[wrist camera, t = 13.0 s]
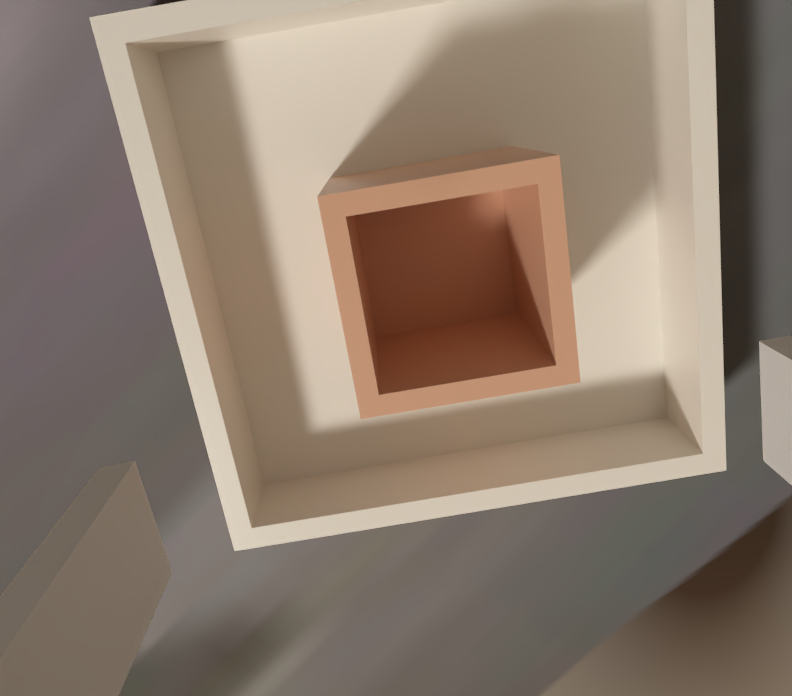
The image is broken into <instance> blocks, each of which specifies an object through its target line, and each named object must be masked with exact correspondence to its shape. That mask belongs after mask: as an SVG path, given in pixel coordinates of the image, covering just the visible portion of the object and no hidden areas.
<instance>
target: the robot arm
mask: <svg viewBox="0 0 792 696" xmlns="http://www.w3.org/2000/svg"><path fill="white" fill-rule="evenodd" d="M759 354H760V382H761V410H762V438H763V461H764V462H766V463H767V464H768V465H769V466H770V467H771V468H772V469H774V470H775V471H776V472H777V473H778V474H779V475H780V476H782V477H783V478H784V479H785V480H786V481H787V482H788V483H790V484H791V485H792V335H789V336H784V337H779V338H773V339H768V340H763V341H759ZM171 573H172V569H171V566H170V563H169V560H168V557H167V555H166V552H165V549H164V546H163V543H162V540H161V537H160V534H159V531H158V528H157V525H156V522H155V519H154V516H153V513H152V510H151V507H150V504H149V502H148V499H147V496H146V493H145V490H144V487H143V484H142V481H141V478H140V475H139V472H138V469H137V466H136V463H135V461H132V462H127V463H122V464H116V465H111V466H106V467H101V468H99V469H98V470H97V471H96V473H95V474H94V475H93V476H92V478H91V479H90V480H89V482H88V483H87V484H86V486H85V487H84V488H83V489H82V491H81V492H80V493H79V495H78V496H77V497H76V498H75V500H74V501H73V502H72V504H71V505H70V506H69V508H68V509H67V510H66V511H65V513H64V514H63V515H62V517H61V518H60V519H59V521H58V522H57V523H56V524H55V526H54V527H53V528H52V530H51V531H50V532H49V534H48V535H47V536H46V537H45V539H44V540H43V541H42V543H41V544H40V545H39V547H38V548H37V549H36V550H35V552H34V553H33V554H32V556H31V557H30V558H29V560H28V561H27V562H26V563H25V565H24V566H23V567H22V569H21V570H20V571H19V573H18V574H17V575H16V576H15V578H14V579H13V580H12V582H11V583H10V584H9V586H8V587H7V588H6V589H5V591H4V592H3V593H2V595H1V596H0V696H119V693H120V691H121V689H122V686H123V684H124V682H125V679H126V677H127V675H128V672H129V670H130V668H131V666H132V663H133V661H134V659H135V656H136V654H137V652H138V649H139V647H140V645H141V642H142V640H143V638H144V636H145V633H146V631H147V629H148V626H149V624H150V622H151V619H152V617H153V615H154V612H155V610H156V608H157V606H158V603H159V601H160V599H161V596H162V594H163V592H164V589H165V587H166V585H167V582H168V580H169V578H170V576H171Z"/></svg>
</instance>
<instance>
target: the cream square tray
mask: <svg viewBox="0 0 792 696" xmlns="http://www.w3.org/2000/svg"><path fill="white" fill-rule="evenodd" d="M89 18H90V22H91V26H92V29H93V33H94V37H95V40H96V44H97V48H98V51H99V55H100V59H101V62H102V66H103V70H104V73H105V77H106V81H107V84H108V88H109V92H110V95H111V99H112V103H113V106H114V110H115V114H116V117H117V121H118V125H119V128H120V132H121V136H122V139H123V143H124V147H125V150H126V154H127V158H128V162H129V165H130V169H131V173H132V176H133V180H134V184H135V187H136V191H137V195H138V198H139V202H140V206H141V209H142V213H143V217H144V220H145V224H146V228H147V231H148V235H149V239H150V242H151V246H152V250H153V253H154V257H155V261H156V264H157V268H158V272H159V275H160V279H161V283H162V286H163V290H164V294H165V298H166V301H167V305H168V309H169V312H170V316H171V320H172V323H173V327H174V331H175V334H176V338H177V342H178V345H179V349H180V353H181V356H182V360H183V364H184V367H185V371H186V375H187V378H188V382H189V386H190V389H191V393H192V397H193V400H194V404H195V408H196V411H197V415H198V419H199V422H200V426H201V430H202V433H203V437H204V441H205V445H206V448H207V452H208V456H209V459H210V463H211V467H212V470H213V474H214V478H215V481H216V485H217V489H218V492H219V496H220V500H221V503H222V507H223V511H224V514H225V518H226V522H227V525H228V529H229V533H230V536H231V540H232V544H233V547H234V551H239V550H245V549H251V548H257V547H263V546H269V545H275V544H281V543H287V542H293V541H300V540H306V539H312V538H318V537H324V536H330V535H336V534H342V533H348V532H354V531H360V530H367V529H373V528H379V527H385V526H391V525H397V524H403V523H409V522H415V521H421V520H427V519H433V518H440V517H446V516H452V515H458V514H464V513H470V512H476V511H482V510H488V509H494V508H500V507H507V506H513V505H519V504H525V503H531V502H537V501H543V500H549V499H555V498H561V497H567V496H574V495H580V494H586V493H592V492H598V491H604V490H610V489H616V488H622V487H628V486H634V485H641V484H647V483H653V482H659V481H665V480H671V479H677V478H683V477H689V476H695V475H701V474H708V473H714V472H720V471H726V441H725V403H724V365H723V327H722V290H721V252H720V214H719V176H718V138H717V101H716V63H715V25H714V0H185V1H179V2H174V3H168V4H162V5H157V6H151V7H146V8H140V9H134V10H129V11H123V12H118V13H112V14H106V15H101V16H95V17H89ZM511 146H515V147H520V148H526V149H531V150H537V151H542V152H547V153H553V154H558V155H560V165H561V176H562V186H563V197H564V208H565V219H566V230H567V241H568V252H569V262H570V273H571V284H572V295H573V306H574V317H575V328H576V338H577V349H578V360H579V371H580V383H574V384H568V385H562V386H556V387H550V388H544V389H538V390H532V391H526V392H520V393H514V394H508V395H502V396H496V397H490V398H484V399H478V400H472V401H466V402H460V403H454V404H448V405H442V406H436V407H430V408H424V409H418V410H412V411H406V412H400V413H394V414H388V415H382V416H376V417H370V418H364V419H361V418H360V413H359V408H358V403H357V397H356V392H355V387H354V382H353V377H352V372H351V367H350V362H349V357H348V352H347V347H346V341H345V336H344V331H343V326H342V321H341V316H340V311H339V306H338V301H337V296H336V290H335V285H334V280H333V275H332V270H331V265H330V260H329V255H328V250H327V245H326V240H325V234H324V229H323V224H322V219H321V214H320V209H319V204H318V199H317V196H318V194H319V193H320V192H321V190H322V189H323V187H324V186H325V184H326V183H327V181H328V180H329V179H330V178H331V177H337V176H343V175H349V174H354V173H360V172H366V171H372V170H378V169H383V168H389V167H395V166H401V165H407V164H412V163H418V162H424V161H430V160H435V159H441V158H447V157H453V156H459V155H464V154H470V153H476V152H482V151H488V150H493V149H499V148H505V147H511Z"/></svg>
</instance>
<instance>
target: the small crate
mask: <svg viewBox="0 0 792 696" xmlns="http://www.w3.org/2000/svg"><path fill="white" fill-rule="evenodd" d="M317 199H318V204H319V209H320V214H321V219H322V224H323V229H324V234H325V240H326V245H327V250H328V255H329V260H330V265H331V270H332V275H333V280H334V285H335V290H336V296H337V301H338V306H339V311H340V316H341V321H342V326H343V331H344V336H345V341H346V347H347V352H348V357H349V362H350V367H351V372H352V377H353V382H354V387H355V392H356V397H357V403H358V408H359V413H360V418H361V419H364V418H370V417H376V416H382V415H388V414H394V413H400V412H406V411H412V410H418V409H424V408H430V407H436V406H442V405H448V404H454V403H460V402H466V401H472V400H478V399H484V398H490V397H496V396H502V395H508V394H514V393H520V392H526V391H532V390H538V389H544V388H550V387H556V386H562V385H568V384H574V383H580V371H579V360H578V349H577V338H576V328H575V317H574V306H573V295H572V284H571V273H570V262H569V252H568V241H567V230H566V219H565V208H564V197H563V186H562V176H561V165H560V155H558V154H553V153H547V152H542V151H537V150H531V149H526V148H520V147H515V146H511V147H505V148H499V149H493V150H488V151H482V152H476V153H470V154H464V155H459V156H453V157H447V158H441V159H435V160H430V161H424V162H418V163H412V164H407V165H401V166H395V167H389V168H383V169H378V170H372V171H366V172H360V173H354V174H349V175H343V176H337V177H331V178H330V179H329V180H328V181H327V183H326V184H325V186H324V187H323V189H322V190H321V192H320V193H319V194H318V196H317Z"/></svg>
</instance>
